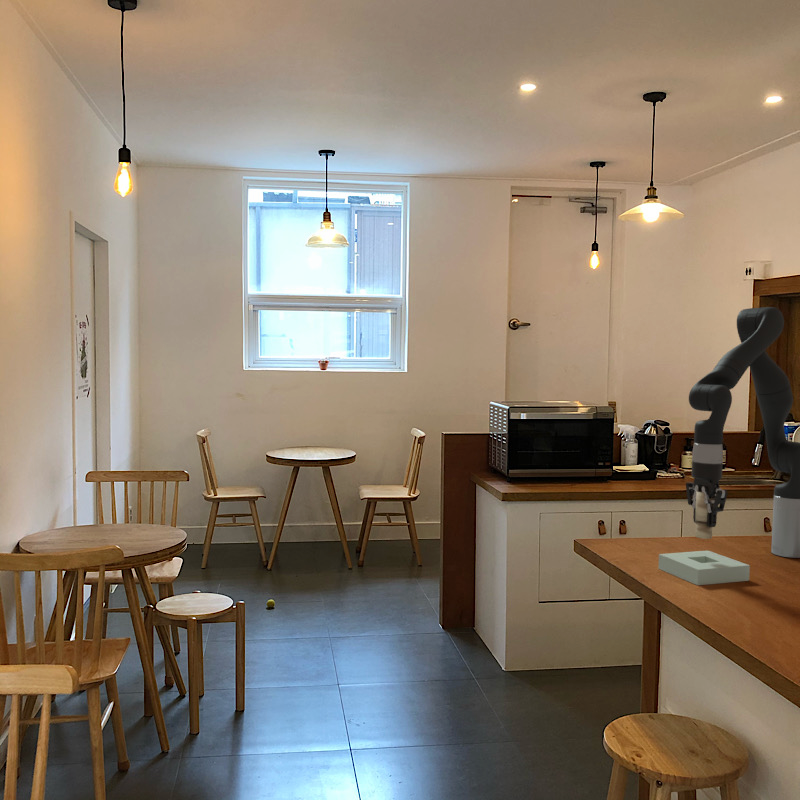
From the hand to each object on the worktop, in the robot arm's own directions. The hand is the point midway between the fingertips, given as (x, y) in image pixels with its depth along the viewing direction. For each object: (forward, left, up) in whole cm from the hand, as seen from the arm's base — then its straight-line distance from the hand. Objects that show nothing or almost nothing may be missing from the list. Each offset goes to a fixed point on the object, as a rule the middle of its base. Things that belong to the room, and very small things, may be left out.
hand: (704, 524), depth 214 cm
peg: (0, 0, -3) cm, 3 cm away
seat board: (0, 0, -13) cm, 13 cm away
